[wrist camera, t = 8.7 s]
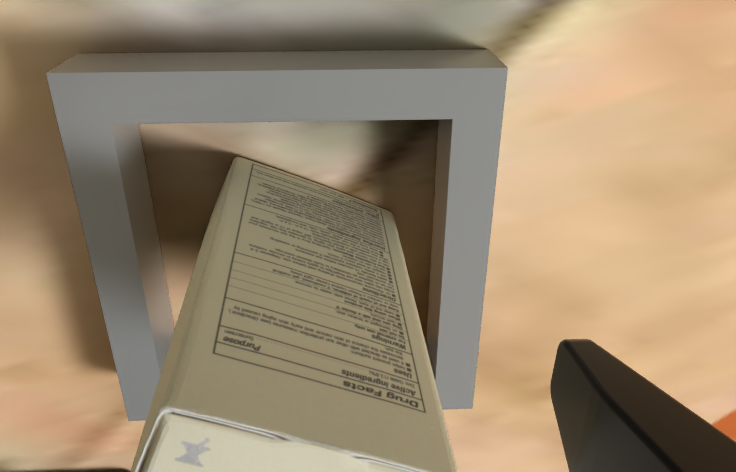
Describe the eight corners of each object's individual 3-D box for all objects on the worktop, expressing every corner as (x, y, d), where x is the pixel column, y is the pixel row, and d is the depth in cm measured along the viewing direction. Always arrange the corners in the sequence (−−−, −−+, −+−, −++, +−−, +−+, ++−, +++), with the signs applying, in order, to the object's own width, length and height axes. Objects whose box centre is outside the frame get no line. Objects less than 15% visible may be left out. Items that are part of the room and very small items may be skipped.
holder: (145, 376, 26) (128, 420, 24) (77, 53, 20) (45, 73, 18) (460, 366, 27) (472, 408, 24) (489, 49, 20) (507, 67, 18)
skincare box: (197, 251, 23) (84, 554, 13) (235, 149, 22) (140, 400, 11) (357, 306, 25) (377, 617, 14) (405, 214, 23) (469, 491, 12)
